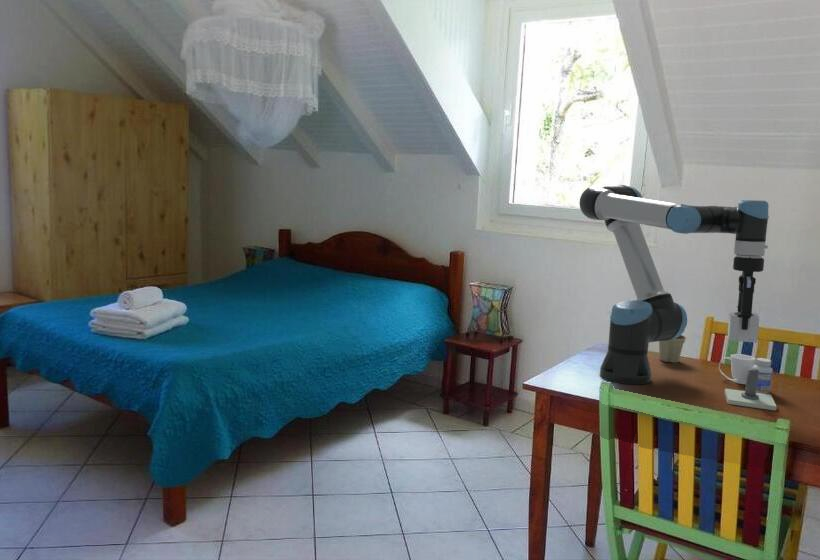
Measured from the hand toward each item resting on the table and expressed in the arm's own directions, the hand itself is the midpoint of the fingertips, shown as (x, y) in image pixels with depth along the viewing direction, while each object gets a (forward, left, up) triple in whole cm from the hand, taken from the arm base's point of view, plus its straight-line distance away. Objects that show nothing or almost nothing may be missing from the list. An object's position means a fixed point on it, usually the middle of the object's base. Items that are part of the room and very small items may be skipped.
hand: (741, 338), depth 189 cm
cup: (+2, +20, -18) cm, 27 cm away
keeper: (+4, 0, -18) cm, 18 cm away
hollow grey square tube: (0, 0, 0) cm, 0 cm away
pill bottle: (+8, +12, -18) cm, 23 cm away
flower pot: (-17, +36, -18) cm, 44 cm away
